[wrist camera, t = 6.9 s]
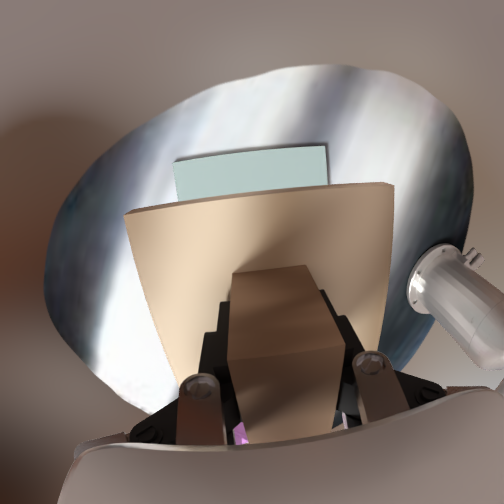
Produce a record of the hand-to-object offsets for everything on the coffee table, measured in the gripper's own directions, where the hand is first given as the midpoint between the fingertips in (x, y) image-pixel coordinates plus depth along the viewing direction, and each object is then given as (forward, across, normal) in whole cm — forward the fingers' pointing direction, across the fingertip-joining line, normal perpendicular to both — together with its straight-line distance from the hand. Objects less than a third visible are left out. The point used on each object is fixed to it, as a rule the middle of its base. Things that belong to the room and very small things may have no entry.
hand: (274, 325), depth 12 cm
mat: (+23, 0, 0) cm, 23 cm away
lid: (+1, 0, 0) cm, 1 cm away
